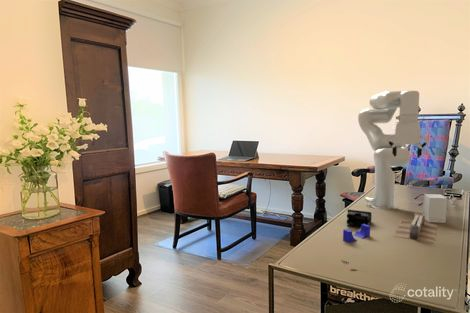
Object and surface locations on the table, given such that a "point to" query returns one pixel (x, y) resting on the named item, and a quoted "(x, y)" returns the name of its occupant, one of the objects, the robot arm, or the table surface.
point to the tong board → (423, 233)
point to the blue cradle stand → (356, 233)
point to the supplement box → (435, 208)
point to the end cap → (358, 218)
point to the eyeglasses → (444, 196)
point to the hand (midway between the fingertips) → (406, 156)
